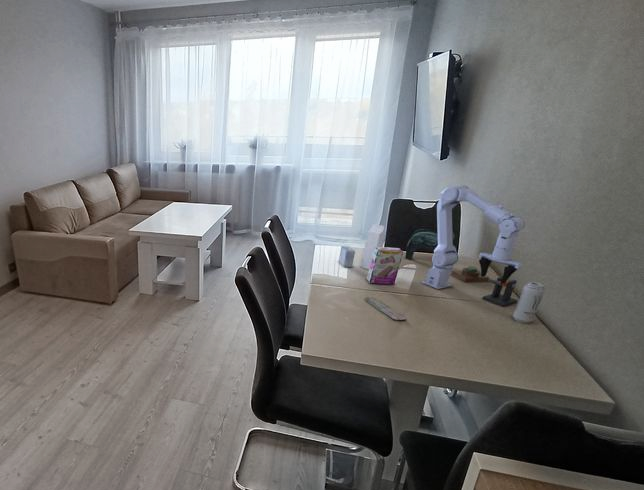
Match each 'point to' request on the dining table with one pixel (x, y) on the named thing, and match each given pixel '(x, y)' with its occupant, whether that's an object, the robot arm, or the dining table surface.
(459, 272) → the socket block
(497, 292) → the dark grey stand
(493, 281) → the kettle switch
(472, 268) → the socket button
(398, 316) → the thin flat strip
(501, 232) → the robot arm
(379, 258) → the candy bar box
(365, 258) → the milk
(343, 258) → the medicine box
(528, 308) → the energy drink can
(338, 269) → the dining table surface
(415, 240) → the dark green curved piece
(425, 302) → the dining table surface
